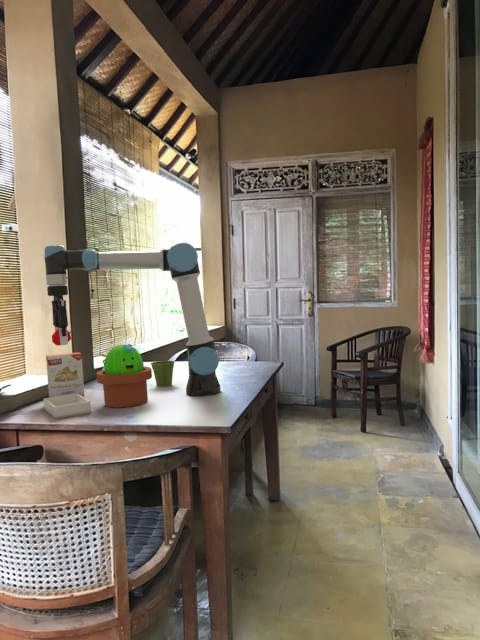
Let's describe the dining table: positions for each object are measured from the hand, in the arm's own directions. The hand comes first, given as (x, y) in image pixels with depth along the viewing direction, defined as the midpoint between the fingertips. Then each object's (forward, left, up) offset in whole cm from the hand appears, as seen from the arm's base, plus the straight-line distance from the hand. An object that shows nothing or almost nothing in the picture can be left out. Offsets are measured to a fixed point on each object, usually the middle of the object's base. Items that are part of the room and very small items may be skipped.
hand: (62, 343), depth 198 cm
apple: (0, 0, -1) cm, 1 cm away
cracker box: (+17, -4, -27) cm, 32 cm away
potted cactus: (-4, -23, -27) cm, 36 cm away
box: (0, 0, -27) cm, 27 cm away
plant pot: (+19, -50, -27) cm, 60 cm away
